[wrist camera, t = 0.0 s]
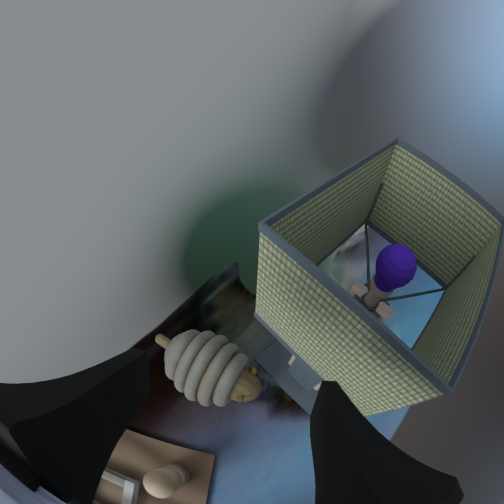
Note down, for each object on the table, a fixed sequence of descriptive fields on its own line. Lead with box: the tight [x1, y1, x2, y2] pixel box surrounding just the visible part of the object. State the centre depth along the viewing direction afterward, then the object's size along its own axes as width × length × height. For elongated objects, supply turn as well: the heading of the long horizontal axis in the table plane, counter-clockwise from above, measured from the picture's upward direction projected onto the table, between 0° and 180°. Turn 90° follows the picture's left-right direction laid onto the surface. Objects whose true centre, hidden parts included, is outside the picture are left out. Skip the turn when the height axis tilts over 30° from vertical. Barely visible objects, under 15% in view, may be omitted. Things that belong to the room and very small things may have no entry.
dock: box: [93, 429, 216, 504], centre depth 25 cm, size 20×20×3 cm
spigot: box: [143, 464, 190, 498], centre depth 25 cm, size 4×4×9 cm
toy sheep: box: [155, 330, 262, 407], centre depth 35 cm, size 11×17×11 cm, turn 68°
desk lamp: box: [254, 138, 504, 417], centre depth 29 cm, size 18×14×33 cm
